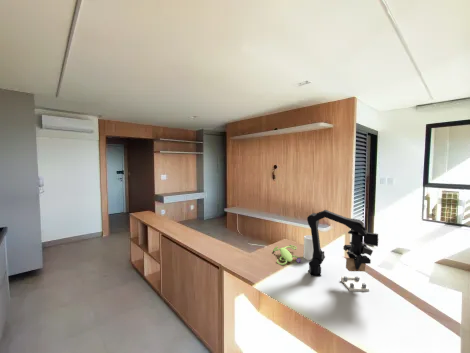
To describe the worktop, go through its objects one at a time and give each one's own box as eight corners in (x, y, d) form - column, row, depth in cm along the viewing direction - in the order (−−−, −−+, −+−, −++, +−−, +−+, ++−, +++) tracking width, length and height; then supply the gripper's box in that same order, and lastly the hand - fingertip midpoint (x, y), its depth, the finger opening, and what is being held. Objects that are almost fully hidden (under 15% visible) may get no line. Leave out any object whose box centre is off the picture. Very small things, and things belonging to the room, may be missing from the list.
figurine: (295, 249, 177) (295, 243, 177) (304, 266, 151) (304, 258, 150) (272, 249, 178) (272, 242, 177) (277, 265, 151) (277, 258, 151)
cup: (313, 261, 157) (314, 240, 156) (302, 258, 162) (302, 237, 160) (315, 256, 164) (316, 236, 163) (304, 254, 169) (305, 234, 167)
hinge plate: (349, 290, 123) (349, 285, 123) (341, 280, 133) (341, 275, 133) (368, 290, 123) (369, 285, 123) (358, 280, 133) (359, 275, 133)
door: (349, 271, 125) (349, 261, 124) (345, 267, 129) (346, 258, 128) (365, 271, 125) (366, 261, 124) (361, 267, 129) (362, 258, 128)
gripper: (381, 249, 116) (379, 276, 117) (361, 236, 134) (360, 260, 136) (360, 248, 116) (358, 276, 117) (343, 235, 134) (342, 259, 136)
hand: (355, 267), depth 127 cm, fingers closed on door, 4 cm apart
